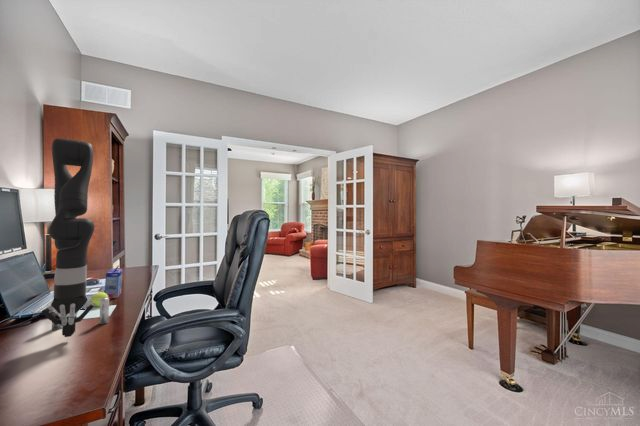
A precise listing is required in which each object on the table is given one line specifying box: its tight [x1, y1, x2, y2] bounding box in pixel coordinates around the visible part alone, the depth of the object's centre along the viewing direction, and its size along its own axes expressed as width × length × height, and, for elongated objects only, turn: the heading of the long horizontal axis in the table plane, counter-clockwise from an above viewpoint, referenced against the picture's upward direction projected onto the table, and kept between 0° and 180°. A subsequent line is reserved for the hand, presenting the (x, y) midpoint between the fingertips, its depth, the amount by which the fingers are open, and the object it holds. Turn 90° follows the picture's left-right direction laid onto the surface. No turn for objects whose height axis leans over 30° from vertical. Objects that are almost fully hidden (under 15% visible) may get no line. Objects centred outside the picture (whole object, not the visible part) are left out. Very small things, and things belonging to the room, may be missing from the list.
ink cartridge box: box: [104, 265, 124, 299], centre depth 133 cm, size 10×6×14 cm, turn 27°
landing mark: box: [77, 304, 117, 320], centre depth 111 cm, size 14×14×1 cm
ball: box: [90, 291, 108, 307], centre depth 118 cm, size 6×6×6 cm
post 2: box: [98, 297, 110, 325], centre depth 101 cm, size 3×3×9 cm
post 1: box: [51, 309, 62, 331], centre depth 95 cm, size 3×3×9 cm
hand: (68, 335), depth 87 cm, fingers closed
